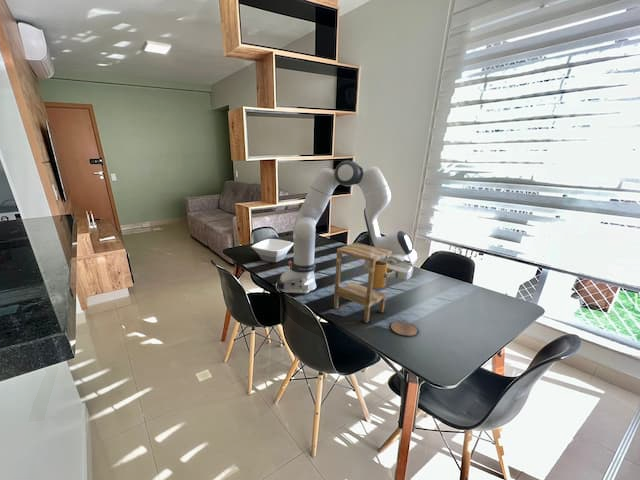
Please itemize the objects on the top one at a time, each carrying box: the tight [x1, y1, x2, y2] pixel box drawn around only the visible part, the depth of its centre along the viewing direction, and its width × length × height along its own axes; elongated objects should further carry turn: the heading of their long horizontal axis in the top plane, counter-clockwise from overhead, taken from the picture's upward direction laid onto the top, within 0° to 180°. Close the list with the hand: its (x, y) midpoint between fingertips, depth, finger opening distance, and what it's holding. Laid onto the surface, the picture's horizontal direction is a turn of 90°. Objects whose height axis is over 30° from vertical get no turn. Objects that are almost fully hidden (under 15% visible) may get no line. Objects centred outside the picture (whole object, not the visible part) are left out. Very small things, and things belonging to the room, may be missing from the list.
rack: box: [333, 242, 392, 324], centre depth 129 cm, size 14×18×30 cm
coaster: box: [390, 321, 418, 337], centre depth 119 cm, size 10×10×1 cm
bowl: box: [250, 238, 294, 263], centre depth 201 cm, size 24×25×10 cm
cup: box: [373, 259, 388, 289], centre depth 121 cm, size 7×7×10 cm
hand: (377, 273), depth 121 cm, fingers closed on cup, 6 cm apart
